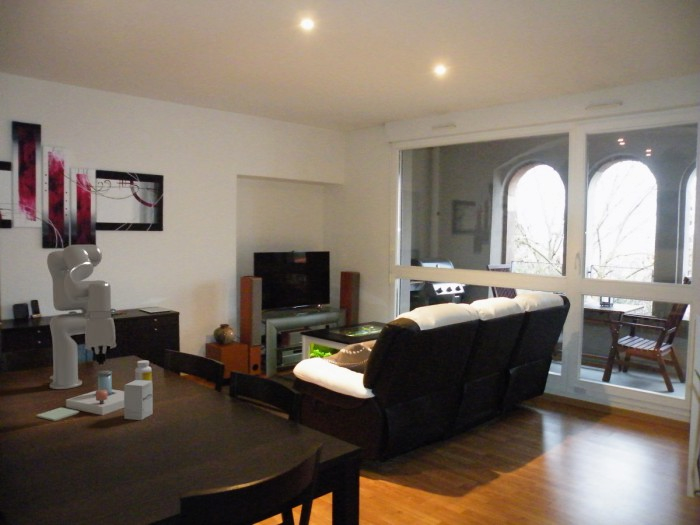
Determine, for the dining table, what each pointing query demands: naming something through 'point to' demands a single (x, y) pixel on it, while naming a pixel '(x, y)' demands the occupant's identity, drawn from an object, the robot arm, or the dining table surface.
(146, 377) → the supplement bottle
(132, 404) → the supplement box
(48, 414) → the mat
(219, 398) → the dining table surface
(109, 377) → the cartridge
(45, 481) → the dining table surface
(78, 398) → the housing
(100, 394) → the knob
